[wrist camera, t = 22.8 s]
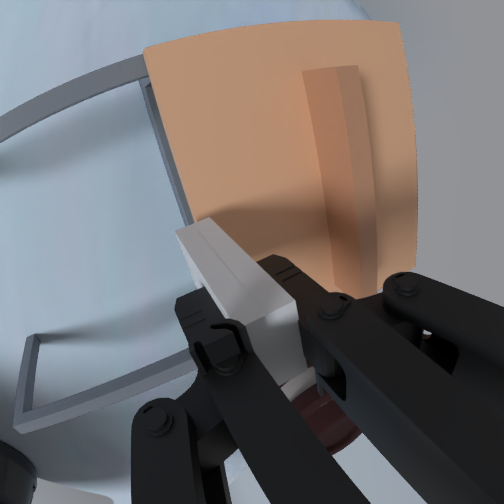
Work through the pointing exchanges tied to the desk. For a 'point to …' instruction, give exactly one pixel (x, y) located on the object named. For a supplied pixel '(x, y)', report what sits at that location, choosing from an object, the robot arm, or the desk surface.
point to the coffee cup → (320, 411)
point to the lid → (298, 143)
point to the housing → (182, 360)
